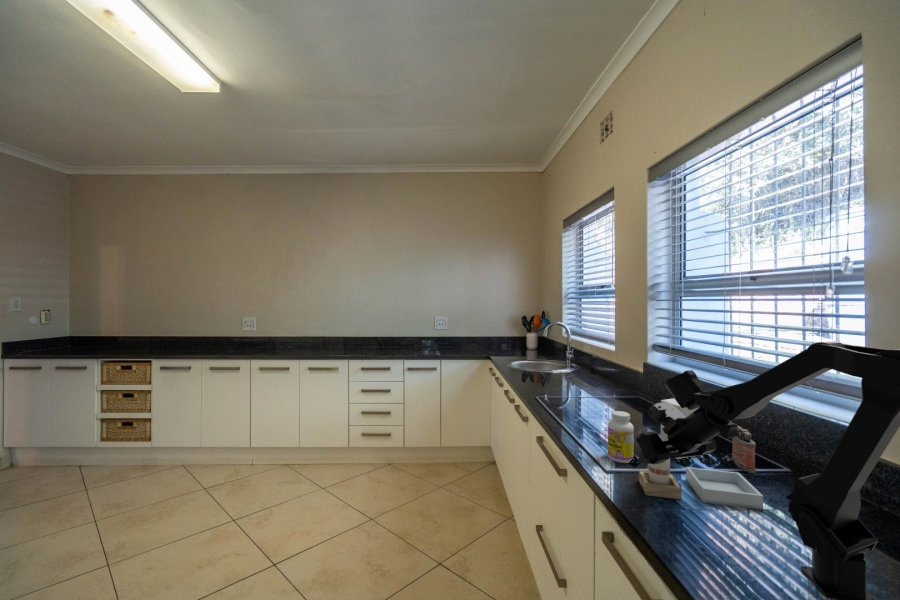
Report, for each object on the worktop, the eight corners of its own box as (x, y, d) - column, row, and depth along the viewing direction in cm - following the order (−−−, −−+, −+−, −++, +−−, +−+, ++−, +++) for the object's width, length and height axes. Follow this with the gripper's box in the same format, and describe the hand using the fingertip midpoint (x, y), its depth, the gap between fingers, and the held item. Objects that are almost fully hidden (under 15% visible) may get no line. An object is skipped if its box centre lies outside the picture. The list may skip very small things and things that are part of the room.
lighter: (759, 473, 97) (759, 434, 97) (744, 472, 98) (744, 433, 98) (742, 460, 105) (742, 424, 105) (728, 459, 106) (728, 423, 106)
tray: (763, 510, 81) (763, 496, 80) (703, 502, 84) (703, 488, 84) (738, 485, 91) (738, 472, 91) (686, 479, 94) (686, 467, 94)
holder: (681, 499, 85) (681, 488, 85) (645, 494, 87) (645, 484, 87) (671, 484, 92) (671, 474, 92) (639, 480, 94) (639, 470, 94)
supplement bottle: (602, 456, 108) (602, 411, 108) (619, 452, 111) (619, 408, 111) (622, 465, 102) (622, 418, 102) (639, 461, 105) (639, 415, 105)
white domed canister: (672, 495, 86) (672, 451, 86) (650, 492, 88) (651, 449, 88) (666, 486, 91) (666, 444, 91) (646, 483, 92) (646, 442, 92)
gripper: (704, 390, 89) (662, 423, 99) (643, 397, 82) (605, 431, 93) (739, 435, 81) (690, 465, 92) (675, 447, 75) (631, 478, 85)
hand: (654, 458), depth 90 cm, fingers open, 9 cm apart
